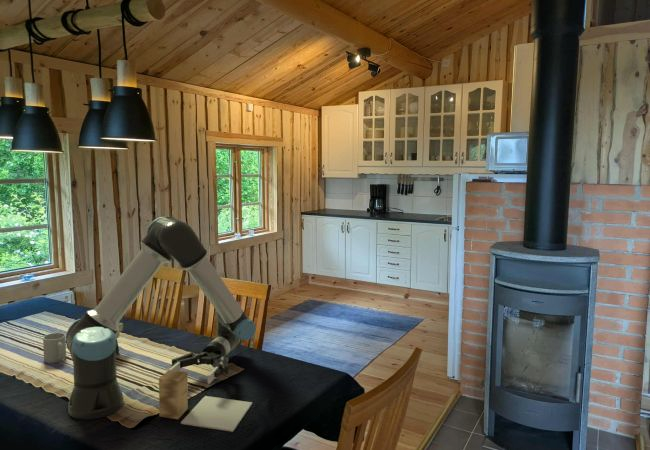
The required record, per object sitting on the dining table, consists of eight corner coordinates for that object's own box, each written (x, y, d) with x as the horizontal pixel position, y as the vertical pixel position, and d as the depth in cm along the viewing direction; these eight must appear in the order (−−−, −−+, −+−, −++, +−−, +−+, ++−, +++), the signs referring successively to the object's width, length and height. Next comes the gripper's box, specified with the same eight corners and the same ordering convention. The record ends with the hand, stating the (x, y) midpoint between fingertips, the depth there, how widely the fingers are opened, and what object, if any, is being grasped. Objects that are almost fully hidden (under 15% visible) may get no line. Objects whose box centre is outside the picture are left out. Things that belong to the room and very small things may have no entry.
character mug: (117, 347, 190) (117, 316, 188) (128, 352, 186) (127, 320, 184) (91, 356, 181) (90, 323, 179) (101, 361, 177) (100, 327, 175)
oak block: (159, 416, 141) (159, 378, 140) (169, 406, 147) (169, 369, 146) (177, 419, 140) (177, 380, 139) (187, 409, 146) (187, 372, 145)
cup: (61, 353, 182) (60, 331, 181) (72, 361, 176) (72, 338, 175) (40, 359, 177) (39, 336, 175) (51, 367, 170) (50, 343, 169)
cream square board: (180, 423, 138) (180, 422, 138) (205, 397, 154) (205, 395, 154) (232, 431, 135) (232, 430, 135) (252, 403, 151) (252, 402, 151)
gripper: (248, 365, 171) (225, 392, 150) (184, 357, 176) (153, 382, 155) (249, 345, 170) (225, 370, 149) (184, 337, 175) (153, 361, 154)
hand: (188, 376), depth 152 cm, fingers open, 13 cm apart
